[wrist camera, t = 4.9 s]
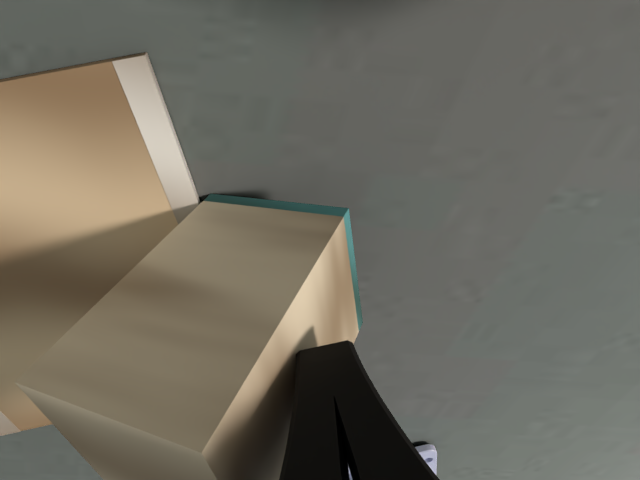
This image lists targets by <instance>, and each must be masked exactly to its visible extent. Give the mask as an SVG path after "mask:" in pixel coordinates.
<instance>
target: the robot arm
mask: <svg viewBox="0 0 640 480" xmlns="http://www.w3.org/2000/svg"><path fill="white" fill-rule="evenodd" d="M436 468H437V452H436V449H435V446H434V445H432V444H425V445H421V446H417V447H414V446H413V444H412V443H411V442H410V440H409V439H408V437H407V436H406V434H405V433H404V432H403V430H402V429H401V427H400V426H399V424H398V423H397V421H396V420H395V418H394V417H393V415H392V414H391V412H390V411H389V409H388V408H387V406H386V405H385V403H384V402H383V400H382V398H381V397H380V395H379V394H378V392H377V390H376V389H375V387H374V385H373V383H372V382H371V380H370V378H369V376H368V375H367V373H366V371H365V369H364V367H363V365H362V363H361V361H360V359H359V357H358V355H357V352H356V350H355V347H354V345H353V343H352V342H350V341H348V340H346V341H341V342H337V343H332V344H327V345H323V346H318V347H313V348H309V349H304V350H300V351H299V352H298V353H297V354H296V378H295V391H294V399H293V408H292V415H291V421H290V427H289V433H288V439H287V445H286V450H285V455H284V459H283V464H282V468H281V473H280V477H279V480H439V478H438V477H437V476H436Z"/></svg>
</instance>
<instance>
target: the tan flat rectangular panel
mask: <svg viewBox="0 0 640 480" xmlns="http://www.w3.org/2000/svg"><path fill="white" fill-rule="evenodd" d="M200 203H201V202H200V200H199V197H198V194H197V191H196V188H195V186H194V183H193V180H192V177H191V174H190V172H189V169H188V166H187V163H186V160H185V158H184V155H183V152H182V149H181V146H180V144H179V141H178V138H177V135H176V132H175V130H174V127H173V124H172V121H171V118H170V116H169V113H168V110H167V107H166V104H165V102H164V99H163V96H162V93H161V90H160V88H159V85H158V82H157V79H156V76H155V74H154V71H153V68H152V65H151V62H150V60H149V57H148V54H147V52H144V53H139V54H134V55H128V56H123V57H118V58H112V59H107V60H102V61H96V62H91V63H86V64H80V65H75V66H70V67H64V68H59V69H54V70H49V71H43V72H38V73H33V74H27V75H22V76H17V77H11V78H6V79H1V80H0V435H1V436H2V435H6V434H11V433H16V432H20V431H23V430H27V429H32V428H37V427H41V426H46V425H50V424H52V423H51V422H50V420H49V419H48V418H47V417H46V416H45V415H44V414H43V413H42V412H41V411H40V410H39V408H38V407H37V406H36V405H35V404H34V403H33V402H32V401H31V400H30V399H29V398H28V396H27V395H26V394H25V393H24V392H23V391H22V390H21V389H20V388H19V387H18V386H17V384H16V383H15V381H17V380H18V379H19V378H20V377H21V376H22V375H23V374H24V373H25V372H26V371H27V370H28V369H29V368H30V367H31V366H32V365H33V364H34V363H35V362H36V361H37V360H38V359H39V358H40V357H41V356H42V355H44V354H45V353H46V352H47V351H48V350H49V349H50V348H51V347H52V346H53V345H54V344H55V343H56V342H57V341H58V340H59V339H60V338H61V337H62V336H63V335H64V334H65V333H66V332H67V331H68V330H69V329H71V328H72V327H73V326H74V325H75V324H76V323H77V322H78V321H79V320H80V319H81V318H82V317H83V316H84V315H85V314H86V313H87V312H88V311H89V310H90V309H91V308H92V307H93V306H94V305H95V304H97V303H98V302H99V301H100V300H101V299H102V298H103V297H104V296H105V295H106V294H107V293H108V292H109V291H110V290H111V289H112V288H113V287H114V286H115V285H116V284H117V283H118V282H119V281H120V280H121V279H122V278H124V277H125V276H126V275H127V274H128V273H129V272H130V271H131V270H132V269H133V268H134V267H135V266H136V265H137V264H138V263H139V262H140V261H141V260H142V259H143V258H144V257H145V256H146V255H147V254H148V253H150V252H151V251H152V250H153V249H154V248H155V247H156V246H157V245H158V244H159V243H160V242H161V241H162V240H163V239H164V238H165V237H166V236H167V235H168V234H169V233H170V232H171V231H172V230H173V229H174V228H175V227H177V226H178V225H179V224H180V223H181V222H182V221H183V220H184V219H185V218H186V217H187V216H188V215H189V214H190V213H191V212H192V211H193V210H194V209H195V208H196V207H197V206H198V205H199V204H200Z"/></svg>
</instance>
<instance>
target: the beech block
mask: <svg viewBox="0 0 640 480" xmlns="http://www.w3.org/2000/svg"><path fill="white" fill-rule="evenodd" d="M362 323H363V321H362V313H361V305H360V297H359V288H358V280H357V272H356V264H355V256H354V248H353V240H352V232H351V223H350V215H349V208H341V207H331V206H322V205H312V204H303V203H294V202H284V201H275V200H265V199H256V198H246V197H237V196H227V195H218V194H210V195H209V196H208V197H207V198H206V199H205V200H204V201H203V202H201V203H200V204H199V205H198V206H197V207H196V208H195V209H194V210H193V211H192V212H191V213H190V214H189V215H188V216H187V217H186V218H185V219H184V220H183V221H182V222H181V223H180V224H179V225H178V226H177V227H175V228H174V229H173V230H172V231H171V232H170V233H169V234H168V235H167V236H166V237H165V238H164V239H163V240H162V241H161V242H160V243H159V244H158V245H157V246H156V247H155V248H154V249H153V250H152V251H151V252H150V253H148V254H147V255H146V256H145V257H144V258H143V259H142V260H141V261H140V262H139V263H138V264H137V265H136V266H135V267H134V268H133V269H132V270H131V271H130V272H129V273H128V274H127V275H126V276H125V277H124V278H122V279H121V280H120V281H119V282H118V283H117V284H116V285H115V286H114V287H113V288H112V289H111V290H110V291H109V292H108V293H107V294H106V295H105V296H104V297H103V298H102V299H101V300H100V301H99V302H98V303H97V304H95V305H94V306H93V307H92V308H91V309H90V310H89V311H88V312H87V313H86V314H85V315H84V316H83V317H82V318H81V319H80V320H79V321H78V322H77V323H76V324H75V325H74V326H73V327H72V328H71V329H69V330H68V331H67V332H66V333H65V334H64V335H63V336H62V337H61V338H60V339H59V340H58V341H57V342H56V343H55V344H54V345H53V346H52V347H51V348H50V349H49V350H48V351H47V352H46V353H45V354H44V355H42V356H41V357H40V358H39V359H38V360H37V361H36V362H35V363H34V364H33V365H32V366H31V367H30V368H29V369H28V370H27V371H26V372H25V373H24V374H23V375H22V376H21V377H20V378H19V379H18V380H17V381H15V383H16V384H17V386H18V387H19V388H20V389H21V390H22V391H23V392H24V393H25V394H26V395H27V396H28V398H29V399H30V400H31V401H32V402H33V403H34V404H35V405H36V406H37V407H38V408H39V410H40V411H41V412H42V413H43V414H44V415H45V416H46V417H47V418H48V419H49V420H50V422H51V423H52V424H53V425H54V426H55V427H56V428H57V429H58V430H59V431H60V432H61V434H62V435H63V436H64V437H65V438H66V439H67V440H68V441H69V442H70V443H71V444H72V446H73V447H74V448H75V449H76V450H77V451H78V452H79V453H80V454H81V455H82V456H83V458H84V459H85V460H86V461H87V462H88V463H89V464H90V465H91V466H92V467H93V468H94V470H95V471H96V472H97V473H98V474H99V475H100V476H101V477H102V478H103V479H104V480H279V477H280V473H281V468H282V464H283V459H284V455H285V450H286V445H287V439H288V433H289V427H290V421H291V415H292V408H293V399H294V391H295V378H296V354H297V353H298V352H299V351H300V350H304V349H309V348H313V347H318V346H323V345H327V344H332V343H337V342H341V341H346V340H348V341H350V342H352V343H353V344H354V342H355V339H356V337H357V335H358V332H359V330H360V327H361V325H362Z"/></svg>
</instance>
